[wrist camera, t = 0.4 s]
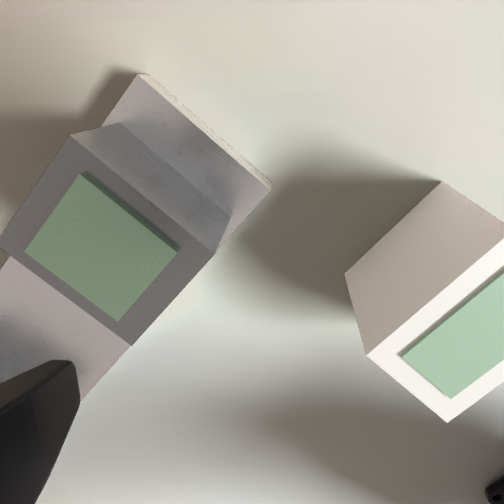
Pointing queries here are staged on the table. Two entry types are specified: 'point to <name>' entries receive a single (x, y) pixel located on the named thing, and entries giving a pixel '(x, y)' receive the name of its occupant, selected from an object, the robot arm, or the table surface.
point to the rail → (117, 233)
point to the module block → (436, 302)
